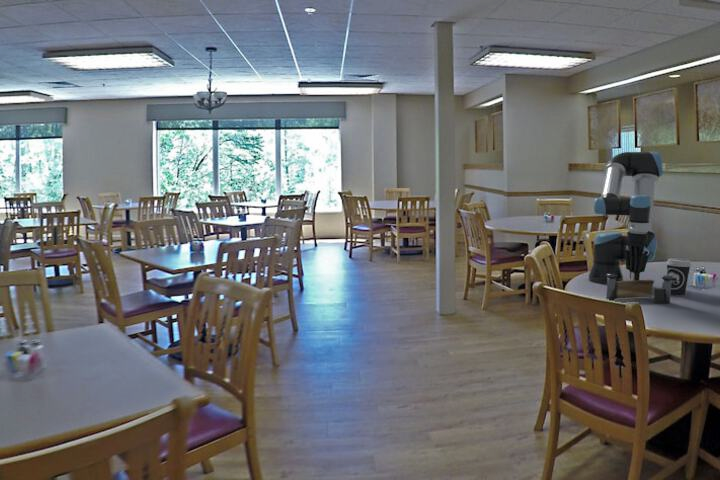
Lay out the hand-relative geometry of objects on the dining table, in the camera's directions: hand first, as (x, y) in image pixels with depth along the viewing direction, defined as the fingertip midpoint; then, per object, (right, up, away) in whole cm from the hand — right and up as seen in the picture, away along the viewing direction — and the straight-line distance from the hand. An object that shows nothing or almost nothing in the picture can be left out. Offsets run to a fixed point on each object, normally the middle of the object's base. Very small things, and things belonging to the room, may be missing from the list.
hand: (633, 287), depth 236 cm
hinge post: (-12, -5, -4) cm, 13 cm away
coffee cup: (+21, -3, +4) cm, 21 cm away
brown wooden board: (-1, -4, -2) cm, 5 cm away
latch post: (+7, -5, -9) cm, 13 cm away
